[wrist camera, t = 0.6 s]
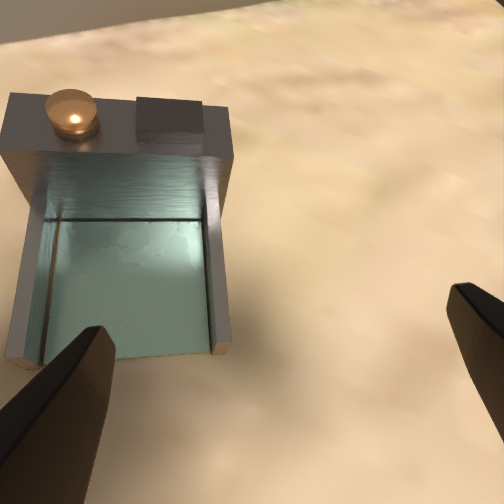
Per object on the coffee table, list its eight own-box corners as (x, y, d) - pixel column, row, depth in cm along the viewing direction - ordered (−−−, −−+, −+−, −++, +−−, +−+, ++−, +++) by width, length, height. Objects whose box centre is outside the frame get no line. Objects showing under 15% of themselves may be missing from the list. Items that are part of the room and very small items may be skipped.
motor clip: (231, 353, 23) (258, 310, 16) (16, 370, 21) (-66, 328, 13) (216, 178, 29) (230, 90, 22) (47, 173, 27) (1, 73, 19)
